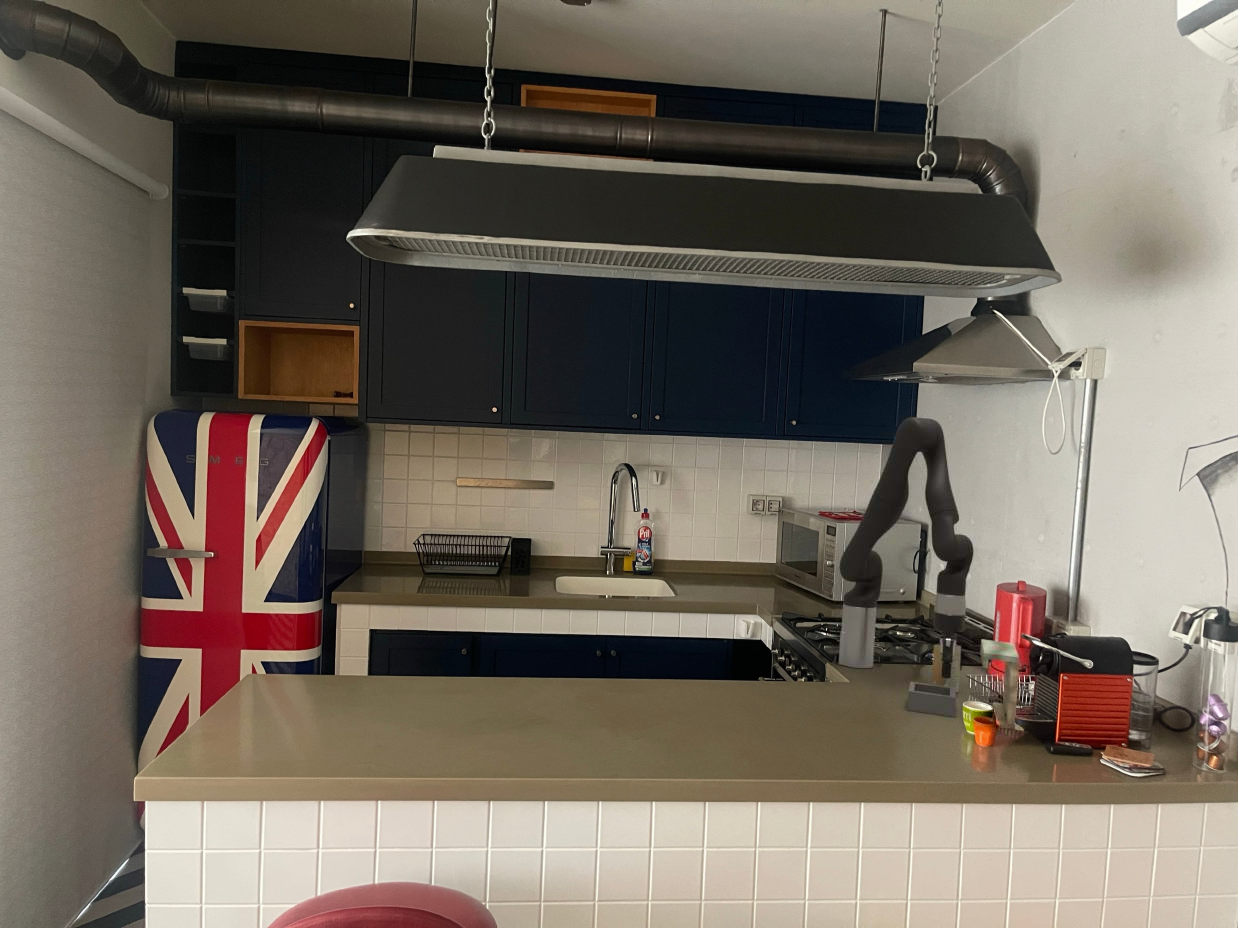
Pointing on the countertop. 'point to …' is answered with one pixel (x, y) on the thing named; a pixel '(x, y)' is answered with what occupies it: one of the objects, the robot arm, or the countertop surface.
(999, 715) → the awning stand
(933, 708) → the socket
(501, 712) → the countertop surface
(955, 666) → the skincare box
